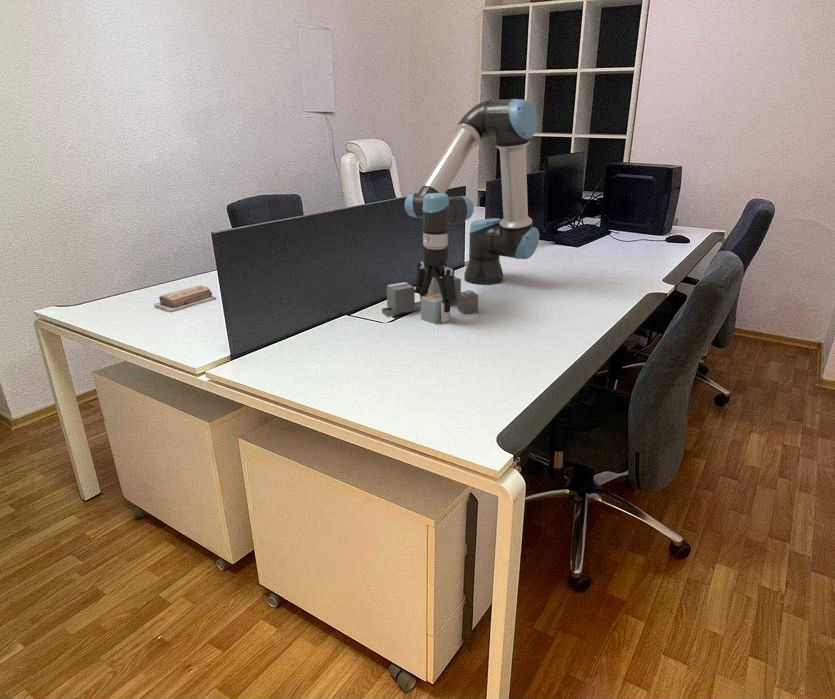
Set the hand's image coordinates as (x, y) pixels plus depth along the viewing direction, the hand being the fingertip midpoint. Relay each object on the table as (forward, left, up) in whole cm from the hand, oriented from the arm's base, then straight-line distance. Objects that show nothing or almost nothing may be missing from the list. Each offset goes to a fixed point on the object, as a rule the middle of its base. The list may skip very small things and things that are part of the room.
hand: (434, 318), depth 177 cm
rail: (-3, -12, 0) cm, 13 cm away
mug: (-13, -24, -1) cm, 27 cm away
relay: (-13, -1, 0) cm, 13 cm away
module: (0, 0, 0) cm, 1 cm away
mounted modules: (-3, -12, +1) cm, 13 cm away
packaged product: (+66, -60, -1) cm, 89 cm away
